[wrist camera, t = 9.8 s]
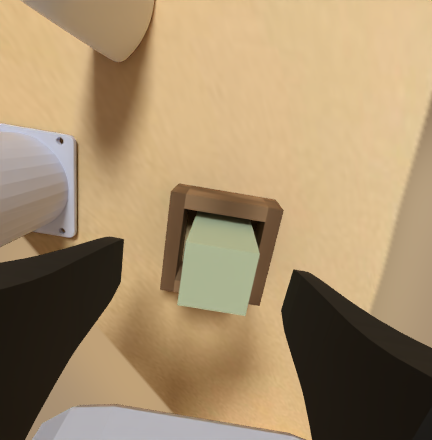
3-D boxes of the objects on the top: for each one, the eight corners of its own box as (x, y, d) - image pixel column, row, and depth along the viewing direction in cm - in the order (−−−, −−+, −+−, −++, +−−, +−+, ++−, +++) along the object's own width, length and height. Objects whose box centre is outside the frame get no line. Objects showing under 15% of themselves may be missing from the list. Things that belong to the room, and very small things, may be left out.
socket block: (168, 270, 22) (160, 289, 20) (178, 183, 20) (170, 191, 17) (255, 284, 22) (259, 305, 20) (275, 199, 20) (283, 210, 17)
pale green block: (192, 253, 22) (177, 304, 15) (199, 207, 21) (185, 241, 14) (239, 261, 22) (245, 316, 15) (249, 215, 21) (259, 254, 14)
